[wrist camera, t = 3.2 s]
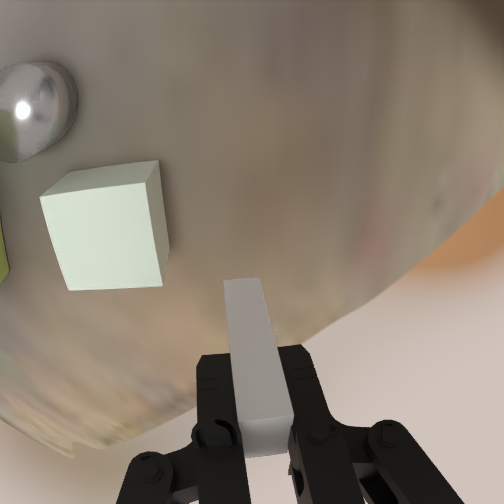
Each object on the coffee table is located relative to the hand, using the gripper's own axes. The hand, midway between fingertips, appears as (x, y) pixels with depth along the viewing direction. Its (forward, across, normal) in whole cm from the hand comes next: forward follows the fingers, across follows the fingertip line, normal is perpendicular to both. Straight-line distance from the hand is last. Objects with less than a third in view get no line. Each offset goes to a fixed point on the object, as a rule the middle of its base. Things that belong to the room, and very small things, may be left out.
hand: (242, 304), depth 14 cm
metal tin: (+11, -13, +9) cm, 20 cm away
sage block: (+11, -8, 0) cm, 14 cm away
